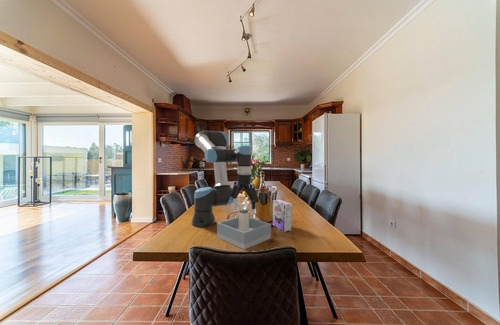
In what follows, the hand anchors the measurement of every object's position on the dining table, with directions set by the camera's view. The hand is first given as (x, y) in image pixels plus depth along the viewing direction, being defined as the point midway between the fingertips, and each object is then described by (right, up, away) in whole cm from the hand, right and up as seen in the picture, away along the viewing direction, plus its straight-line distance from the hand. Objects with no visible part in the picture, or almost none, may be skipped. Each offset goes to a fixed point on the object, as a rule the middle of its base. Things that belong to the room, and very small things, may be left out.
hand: (243, 212), depth 118 cm
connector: (0, -14, 0) cm, 14 cm away
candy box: (+23, -14, +16) cm, 32 cm away
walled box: (0, -14, 0) cm, 14 cm away
